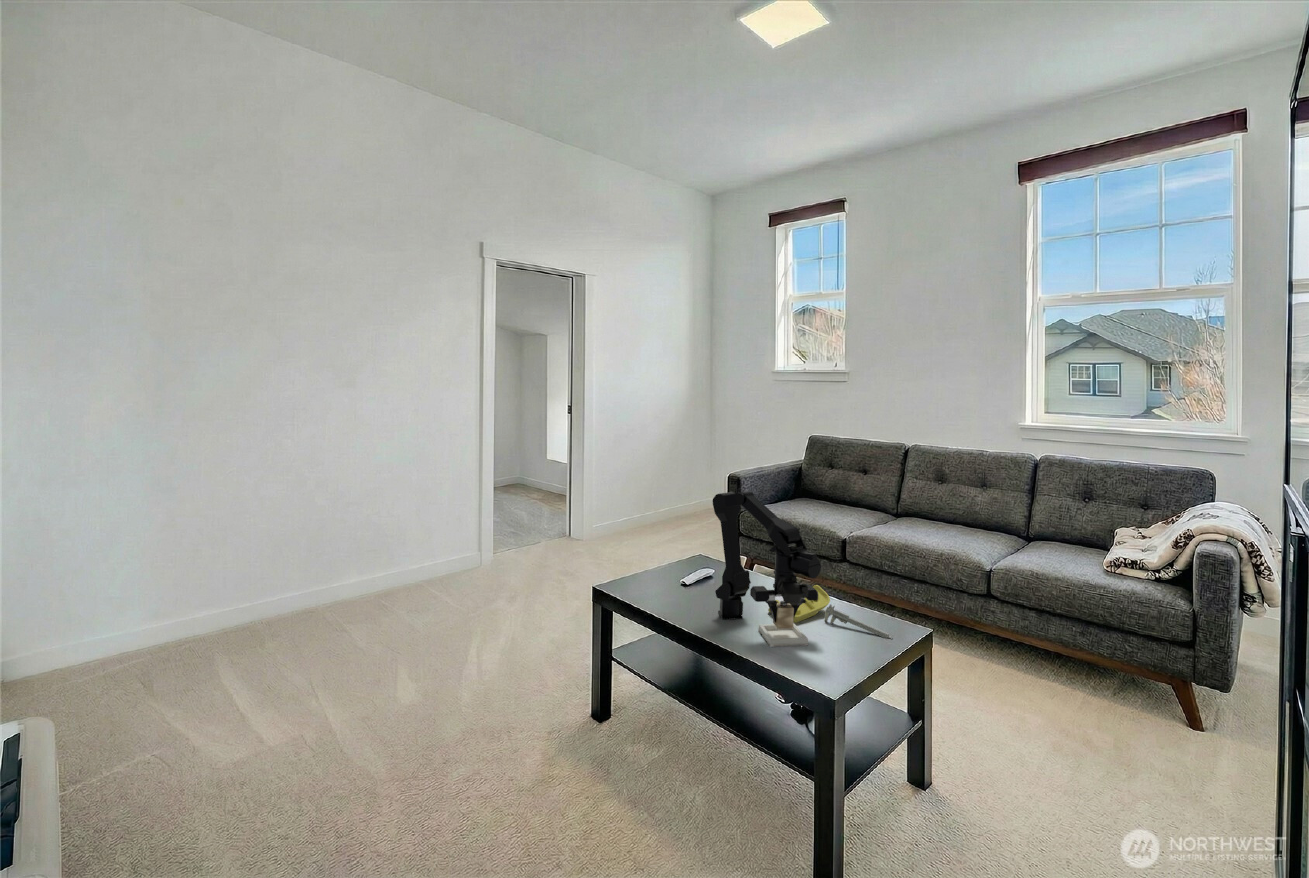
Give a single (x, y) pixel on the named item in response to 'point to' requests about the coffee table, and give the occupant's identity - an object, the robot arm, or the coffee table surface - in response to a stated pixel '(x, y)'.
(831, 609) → the caliper
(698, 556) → the coffee table surface
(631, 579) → the coffee table surface
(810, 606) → the plastic component
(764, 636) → the housing tray
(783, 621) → the block
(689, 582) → the coffee table surface
